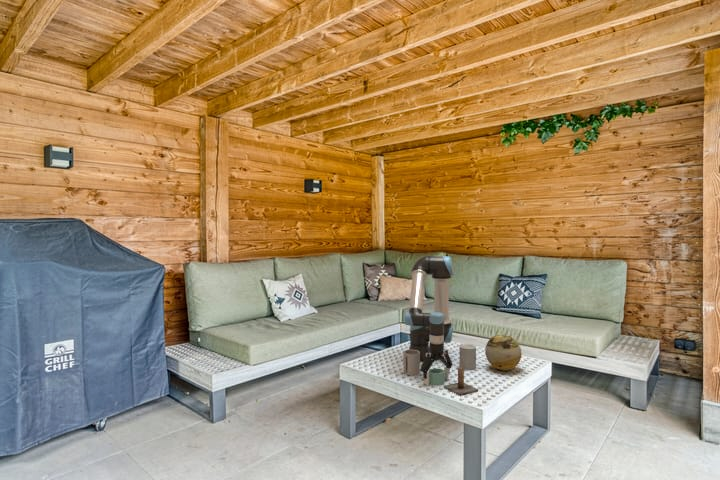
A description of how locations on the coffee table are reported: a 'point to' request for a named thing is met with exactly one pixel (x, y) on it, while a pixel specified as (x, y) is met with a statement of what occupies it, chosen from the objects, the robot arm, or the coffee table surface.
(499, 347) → the decorative sphere
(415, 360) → the cup
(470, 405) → the coffee table surface
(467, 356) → the beige speckled cylinder
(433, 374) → the collar
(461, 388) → the post stand
